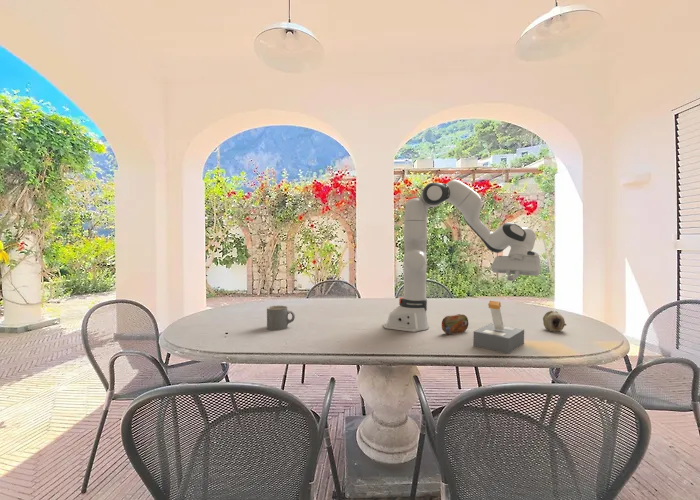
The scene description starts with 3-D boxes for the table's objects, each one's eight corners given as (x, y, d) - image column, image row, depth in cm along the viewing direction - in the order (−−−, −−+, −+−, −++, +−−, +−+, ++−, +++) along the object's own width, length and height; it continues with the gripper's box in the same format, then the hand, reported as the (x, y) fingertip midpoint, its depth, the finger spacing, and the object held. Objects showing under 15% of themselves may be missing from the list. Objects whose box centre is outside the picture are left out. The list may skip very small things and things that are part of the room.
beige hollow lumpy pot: (543, 334, 166) (536, 313, 168) (556, 329, 169) (549, 310, 171) (559, 333, 157) (551, 312, 159) (572, 328, 160) (564, 307, 162)
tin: (445, 335, 155) (445, 317, 155) (440, 333, 158) (440, 315, 157) (468, 331, 162) (469, 313, 162) (463, 329, 165) (464, 312, 164)
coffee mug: (264, 330, 163) (264, 309, 163) (270, 324, 173) (269, 305, 172) (292, 330, 162) (292, 309, 162) (296, 325, 172) (296, 305, 172)
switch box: (490, 336, 153) (491, 323, 153) (523, 343, 144) (524, 329, 143) (473, 345, 141) (473, 331, 140) (508, 353, 131) (508, 338, 131)
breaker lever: (495, 325, 144) (490, 300, 139) (505, 327, 141) (500, 302, 136) (493, 329, 142) (488, 304, 138) (503, 331, 140) (498, 305, 135)
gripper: (494, 251, 162) (485, 273, 155) (541, 253, 147) (534, 277, 141) (497, 260, 165) (488, 282, 158) (544, 262, 151) (537, 287, 144)
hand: (510, 279), depth 150 cm, fingers closed
